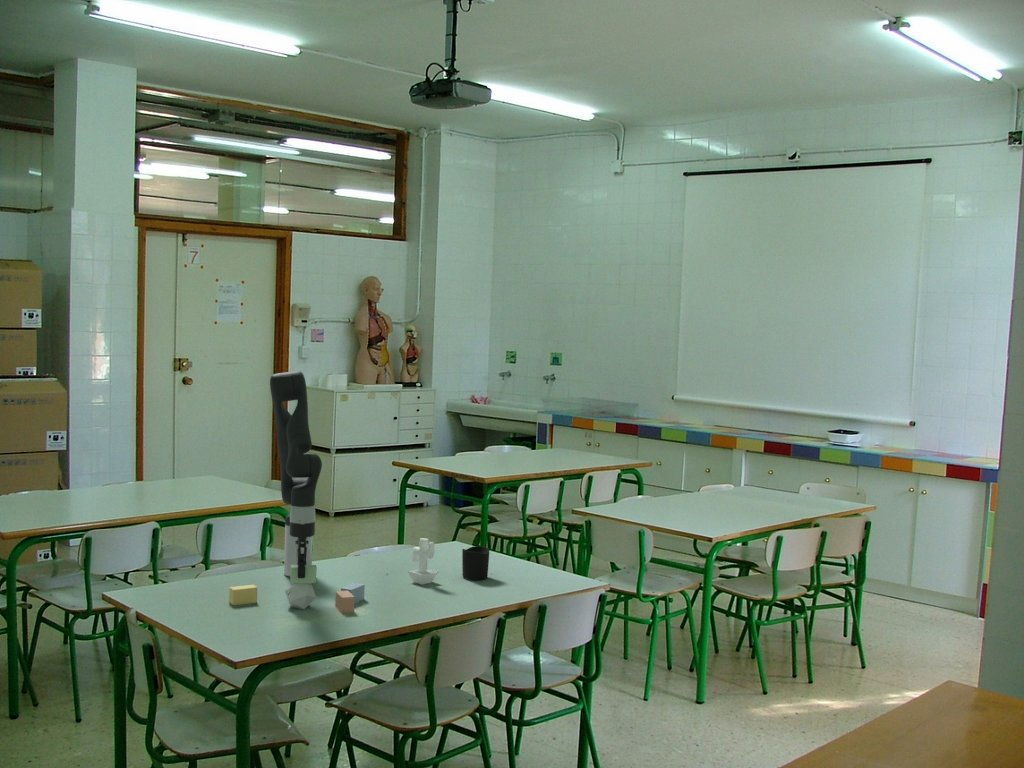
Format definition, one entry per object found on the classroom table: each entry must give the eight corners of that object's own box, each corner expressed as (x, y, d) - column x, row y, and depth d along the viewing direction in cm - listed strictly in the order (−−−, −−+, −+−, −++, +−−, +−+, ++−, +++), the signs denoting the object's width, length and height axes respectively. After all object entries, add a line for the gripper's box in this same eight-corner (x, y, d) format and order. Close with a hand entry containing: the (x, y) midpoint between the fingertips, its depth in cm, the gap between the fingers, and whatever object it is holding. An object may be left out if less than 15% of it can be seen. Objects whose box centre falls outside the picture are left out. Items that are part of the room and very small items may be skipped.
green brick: (290, 580, 304) (291, 564, 304) (315, 580, 306) (316, 564, 306) (290, 583, 300) (291, 567, 300) (315, 583, 302) (316, 567, 302)
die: (289, 604, 308) (277, 583, 302) (314, 589, 310) (303, 568, 305) (298, 620, 301) (286, 599, 296) (323, 605, 304) (312, 584, 298)
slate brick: (340, 603, 309) (340, 588, 309) (354, 597, 316) (354, 582, 316) (350, 605, 308) (351, 589, 307) (364, 599, 314) (364, 584, 314)
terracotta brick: (341, 613, 298) (342, 597, 298) (335, 607, 305) (335, 591, 305) (354, 612, 300) (354, 596, 299) (347, 606, 307) (347, 590, 306)
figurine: (421, 578, 344) (422, 534, 343) (439, 583, 337) (441, 539, 336) (405, 581, 339) (406, 537, 338) (423, 586, 332) (424, 542, 331)
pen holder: (490, 580, 343) (491, 552, 343) (462, 581, 342) (463, 552, 341) (486, 574, 352) (487, 546, 352) (460, 574, 351) (461, 546, 351)
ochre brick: (229, 602, 306) (229, 587, 305) (253, 599, 310) (253, 584, 310) (232, 605, 303) (233, 590, 302) (257, 602, 307) (257, 587, 306)
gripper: (289, 515, 308) (288, 570, 309) (290, 524, 294) (288, 582, 295) (314, 515, 310) (312, 570, 311) (316, 524, 296) (314, 581, 297)
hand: (301, 575), depth 303 cm, fingers open, 4 cm apart
